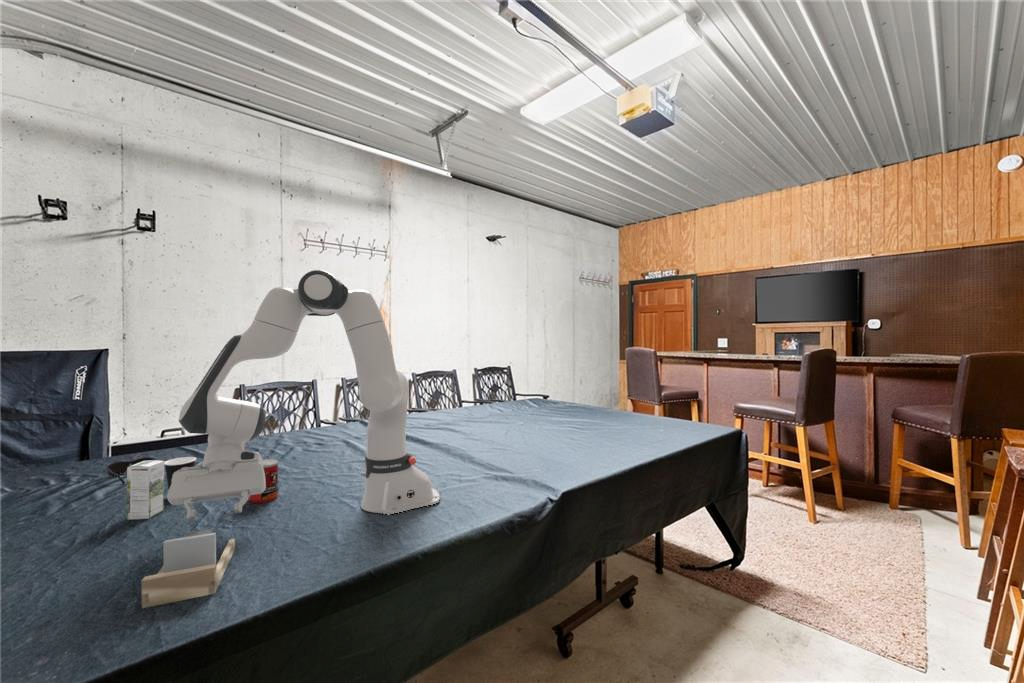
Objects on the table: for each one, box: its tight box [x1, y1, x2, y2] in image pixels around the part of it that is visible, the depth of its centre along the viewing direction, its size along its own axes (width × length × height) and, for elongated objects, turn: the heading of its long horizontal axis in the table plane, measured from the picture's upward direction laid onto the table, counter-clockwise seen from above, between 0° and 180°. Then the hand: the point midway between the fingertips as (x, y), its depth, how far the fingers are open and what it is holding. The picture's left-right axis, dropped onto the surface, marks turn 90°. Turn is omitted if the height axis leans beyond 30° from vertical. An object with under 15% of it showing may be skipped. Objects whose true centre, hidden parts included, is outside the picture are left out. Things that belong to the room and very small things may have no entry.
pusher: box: [162, 532, 217, 573], centre depth 85 cm, size 1×8×8 cm, turn 113°
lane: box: [141, 538, 236, 609], centre depth 87 cm, size 18×11×5 cm, turn 23°
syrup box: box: [126, 459, 165, 521], centre depth 117 cm, size 6×6×14 cm
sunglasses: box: [106, 456, 158, 484], centre depth 150 cm, size 14×16×5 cm
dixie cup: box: [164, 456, 197, 490], centre depth 131 cm, size 8×8×11 cm
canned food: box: [248, 458, 279, 504], centre depth 129 cm, size 8×8×11 cm
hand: (214, 515), depth 102 cm, fingers open, 8 cm apart
